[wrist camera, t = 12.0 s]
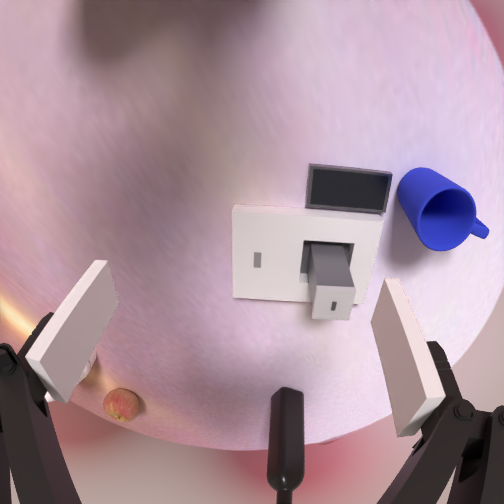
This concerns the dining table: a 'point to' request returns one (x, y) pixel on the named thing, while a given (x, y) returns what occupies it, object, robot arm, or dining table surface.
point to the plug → (329, 281)
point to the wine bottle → (286, 443)
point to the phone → (348, 188)
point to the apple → (121, 405)
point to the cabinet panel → (296, 249)
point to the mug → (439, 209)
